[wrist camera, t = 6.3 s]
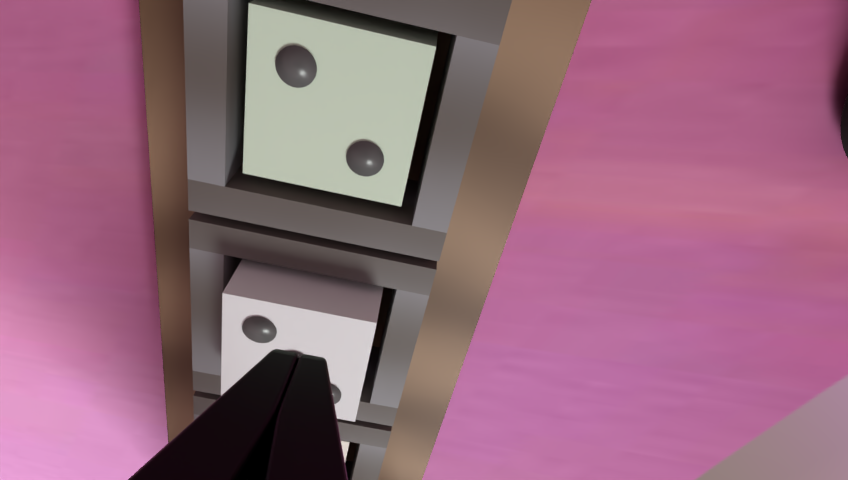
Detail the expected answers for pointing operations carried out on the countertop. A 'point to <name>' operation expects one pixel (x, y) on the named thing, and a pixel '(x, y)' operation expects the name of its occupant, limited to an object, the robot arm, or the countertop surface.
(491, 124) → the panel
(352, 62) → the tile two
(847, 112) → the beverage can
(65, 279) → the countertop surface
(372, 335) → the tile three
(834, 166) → the countertop surface
